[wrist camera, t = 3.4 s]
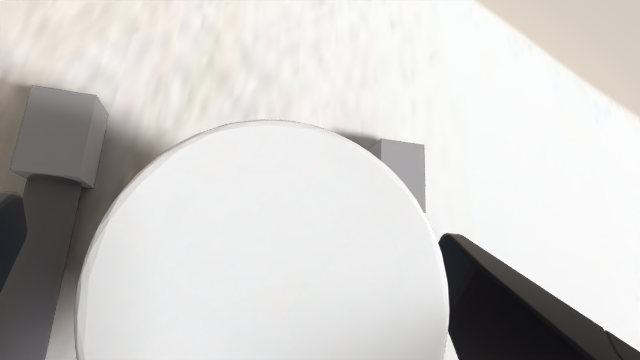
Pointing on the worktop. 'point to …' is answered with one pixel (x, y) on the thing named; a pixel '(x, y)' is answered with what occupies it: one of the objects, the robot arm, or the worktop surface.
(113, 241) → the pill bottle
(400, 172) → the grey block-tipped rod
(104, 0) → the worktop surface
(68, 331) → the worktop surface
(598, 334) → the robot arm
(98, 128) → the grey block-headed part
